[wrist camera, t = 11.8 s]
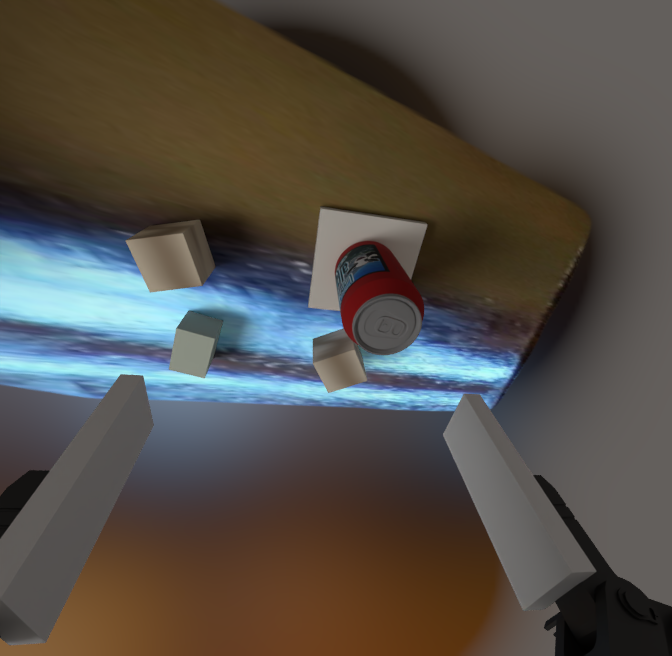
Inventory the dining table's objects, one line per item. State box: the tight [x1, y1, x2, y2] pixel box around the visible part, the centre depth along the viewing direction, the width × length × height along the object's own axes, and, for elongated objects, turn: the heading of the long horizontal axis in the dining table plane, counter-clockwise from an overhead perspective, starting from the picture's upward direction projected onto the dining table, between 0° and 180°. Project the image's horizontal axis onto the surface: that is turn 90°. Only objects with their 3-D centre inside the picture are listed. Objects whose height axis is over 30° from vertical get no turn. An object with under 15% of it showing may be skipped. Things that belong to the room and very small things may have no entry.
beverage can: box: [335, 241, 424, 355], centre depth 29 cm, size 7×7×12 cm
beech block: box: [126, 220, 215, 292], centre depth 31 cm, size 5×5×5 cm
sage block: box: [169, 311, 223, 378], centre depth 37 cm, size 4×6×4 cm, turn 157°
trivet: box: [308, 206, 428, 311], centre depth 34 cm, size 11×11×1 cm
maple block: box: [313, 328, 367, 393], centre depth 39 cm, size 5×5×5 cm
